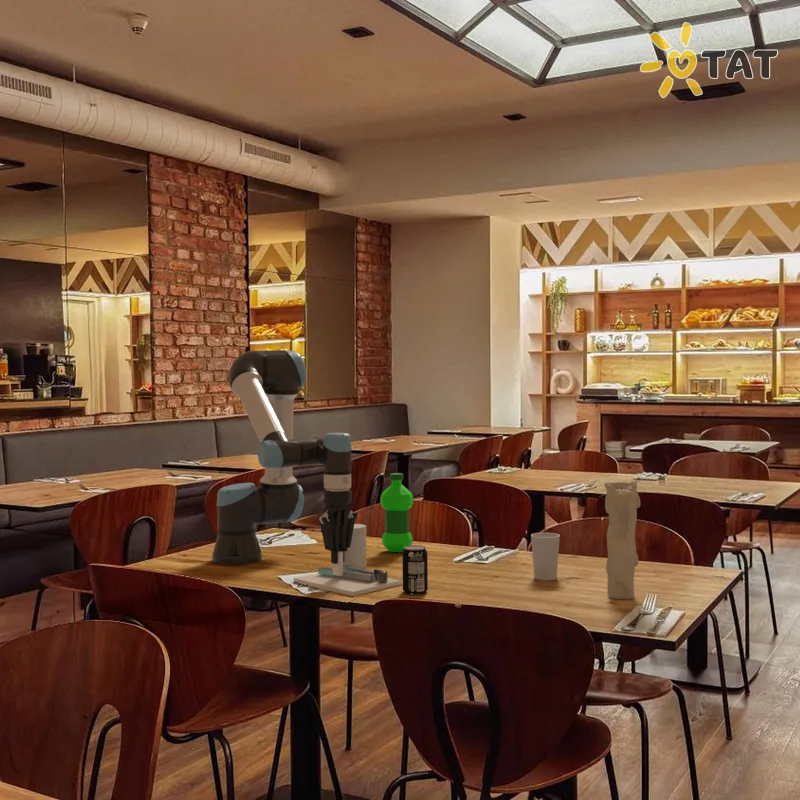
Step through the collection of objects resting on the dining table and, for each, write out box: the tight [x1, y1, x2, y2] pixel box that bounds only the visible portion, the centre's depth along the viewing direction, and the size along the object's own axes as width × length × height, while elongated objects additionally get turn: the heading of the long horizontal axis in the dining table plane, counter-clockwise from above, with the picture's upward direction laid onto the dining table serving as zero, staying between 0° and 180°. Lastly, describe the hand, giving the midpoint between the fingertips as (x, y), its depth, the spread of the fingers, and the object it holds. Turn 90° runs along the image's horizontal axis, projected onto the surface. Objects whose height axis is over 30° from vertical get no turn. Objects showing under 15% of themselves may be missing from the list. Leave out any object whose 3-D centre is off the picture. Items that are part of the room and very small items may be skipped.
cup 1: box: [343, 523, 368, 569], centre depth 292 cm, size 8×8×12 cm
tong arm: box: [317, 567, 375, 582], centre depth 270 cm, size 18×2×2 cm, turn 55°
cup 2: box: [530, 532, 561, 581], centre depth 274 cm, size 8×8×12 cm
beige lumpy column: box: [604, 479, 641, 600], centre depth 249 cm, size 9×8×30 cm
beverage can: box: [401, 544, 429, 596], centre depth 258 cm, size 7×7×12 cm
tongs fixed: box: [343, 565, 389, 583], centre depth 272 cm, size 22×4×4 cm, turn 46°
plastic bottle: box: [379, 472, 414, 553], centre depth 314 cm, size 10×10×25 cm
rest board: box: [293, 572, 402, 597], centre depth 269 cm, size 24×18×1 cm
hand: (337, 574), depth 269 cm, fingers closed
